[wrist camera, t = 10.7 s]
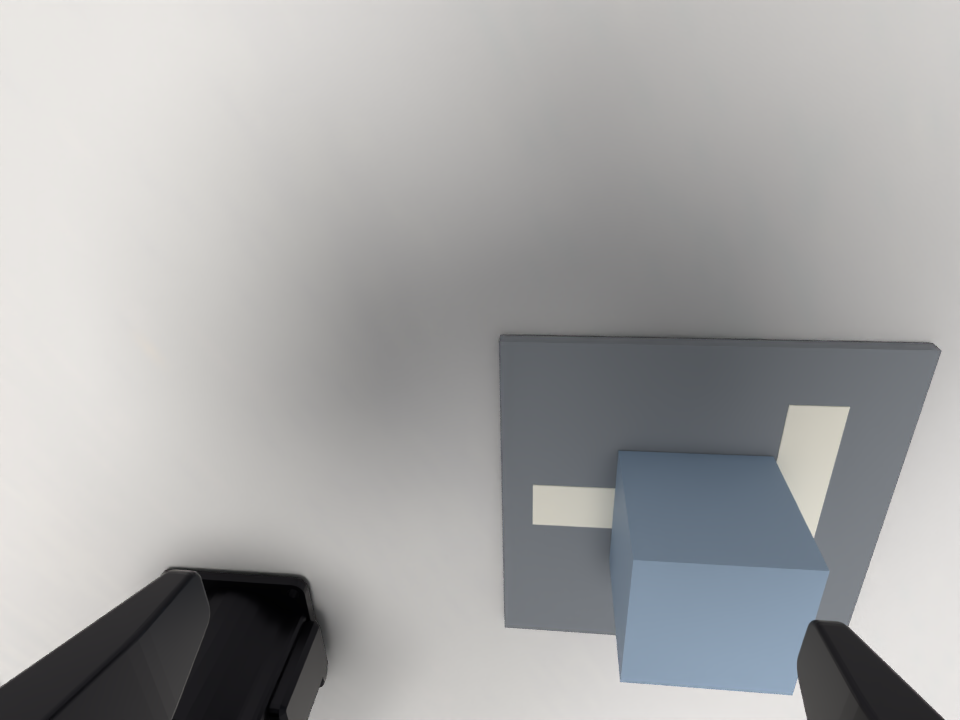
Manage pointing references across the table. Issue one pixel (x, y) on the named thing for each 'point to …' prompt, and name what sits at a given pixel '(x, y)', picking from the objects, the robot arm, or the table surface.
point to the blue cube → (710, 572)
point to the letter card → (693, 448)
